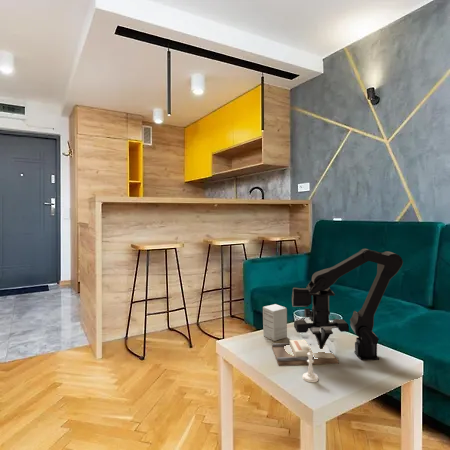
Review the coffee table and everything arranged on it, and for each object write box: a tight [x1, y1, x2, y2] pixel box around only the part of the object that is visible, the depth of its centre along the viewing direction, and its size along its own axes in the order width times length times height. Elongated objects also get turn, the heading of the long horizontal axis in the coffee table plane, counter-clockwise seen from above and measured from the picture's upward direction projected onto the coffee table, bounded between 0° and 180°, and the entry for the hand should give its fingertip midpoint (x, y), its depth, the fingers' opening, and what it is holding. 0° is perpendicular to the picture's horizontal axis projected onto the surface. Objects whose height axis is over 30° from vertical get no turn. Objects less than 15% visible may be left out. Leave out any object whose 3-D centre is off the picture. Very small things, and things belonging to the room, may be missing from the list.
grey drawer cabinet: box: [262, 303, 288, 342], centre depth 139 cm, size 7×7×13 cm
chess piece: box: [302, 347, 319, 383], centre depth 105 cm, size 5×5×10 cm
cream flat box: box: [289, 339, 312, 357], centre depth 122 cm, size 6×10×2 cm, turn 1°
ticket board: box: [271, 342, 339, 366], centre depth 122 cm, size 21×14×2 cm, turn 91°
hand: (320, 348), depth 122 cm, fingers closed
